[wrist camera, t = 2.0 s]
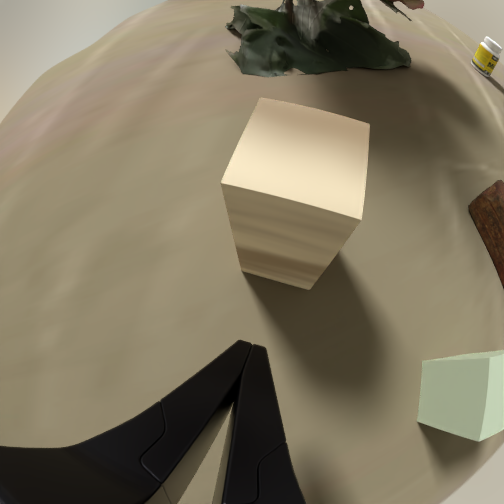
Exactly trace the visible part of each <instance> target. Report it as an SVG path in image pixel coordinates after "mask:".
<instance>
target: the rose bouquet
mask: <svg viewBox="0 0 504 504" xmlns="http://www.w3.org/2000/svg"><path fill="white" fill-rule="evenodd" d="M284 1H285V0H283V3H282V5H281V6H280V7H279V8H277V9H276V10H275V11H274V10H270V9H263V8H254V7H249V6H246V5H241V4H240V6H231V8H232V9H234V16H235V17H233V18H234V19H233V21H232V22H230V23H227V25H226V26H225V27H226V28H227V29H233V28H236V30H237V31H238V32H239V33H241V34H242V36H241V46H240V49H239V52H237V51H236V52H235V54H233V53H231V52H229V51H227V50H226V49H225V50H226V52H227V53H228V54H229V55H230V56H231V58H232V59H233V60H234V61H235V63H236V64H237V65H238V66H239V68H240V70H241V72H242V73H243V74H252V75H259V76H264V77H275V76H285V74H284V72H285V71H287V70H289V69H290V68H296V69H298V70H300V71H302V72H304V73H306V74H319V73H324V72H331V71H341V70H344V71H348V70H347V68H346V67H348V68H352V67H367V68H372V69H392V68H395V67H398V66H402V65H405V66H408V67H410V63H411V58H410V55H409V53H408V52H407V51H406V50H404V49H402V48H400V47H399V42H398V41H397V42H392V41H390V40H389V39H387V38H386V37H385V34H383V33H381V32H379V31H377V30H376V29H374V28H373V27H371V26H370V25H369V21H368V17H367V14H366V12H365V10H364V8H363V7H362V4H361V1H360V0H324V1H320V2H319V1H316V0H297V4H298V5H297V6H294V4H293V0H286V1H285V3H284ZM380 1H382V2H383V3H384V4H385V5H386V6H388V7H390V8H391V9H392V10H393V11H394V12H395V13H397V12H399V13H401V14H403V15H404V16H405V17H407V16H406V15H405V14H404V13H403V12H401V11H400V10H398V9H397V8H396V7H395V6H394V5H393V2H396V1H400V2H402V3H403V4H405V5H406V6H407V7H408V8H410V9H412V10H415V9H417V8H421V9H422V8H423V6H424V1H423V0H380ZM349 6H353V7H354V8H353V10H350V9H349ZM407 18H408V17H407ZM408 19H409V18H408ZM409 20H410V21H412V20H411V19H409ZM326 49H327V50H328V51H329V52H327V51H326ZM299 75H303V74H299Z"/></svg>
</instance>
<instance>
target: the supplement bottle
mask: <svg viewBox="0 0 504 504" xmlns="http://www.w3.org/2000/svg"><path fill="white" fill-rule="evenodd" d="M501 50H502V48H501V46H499V45H498V44H497V43H496V42H495V41H493V40H492V39H491V38H489V37H487V36H486V37H485V39H484V42H481V43H480V45H479V47H478V49H477V51H476V53H475V55H474V57H473V59H472V61H471V64H472V66H473V67H474V68H475V69H476V70H477V71H479V72H480V73H481V74H483V75H484V76H486V77H489V76H490V74H491V73H492V71H493V69H494V67H495V65H496V64H497V62H498V60H499V58H500V56H499V53H501Z"/></svg>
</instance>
